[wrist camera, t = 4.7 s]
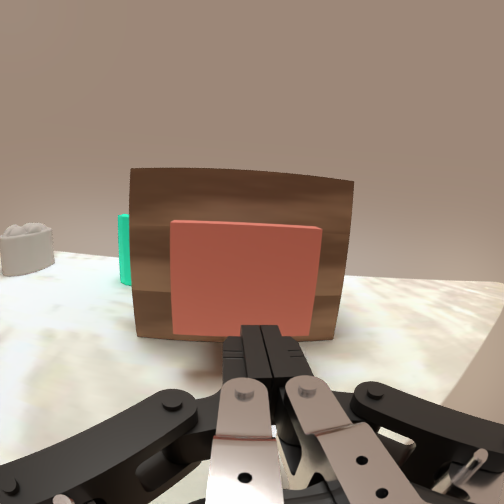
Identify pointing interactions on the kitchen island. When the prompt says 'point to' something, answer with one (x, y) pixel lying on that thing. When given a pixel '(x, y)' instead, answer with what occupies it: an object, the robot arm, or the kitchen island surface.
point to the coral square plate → (242, 276)
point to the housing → (232, 210)
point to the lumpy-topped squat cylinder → (26, 249)
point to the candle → (124, 249)
